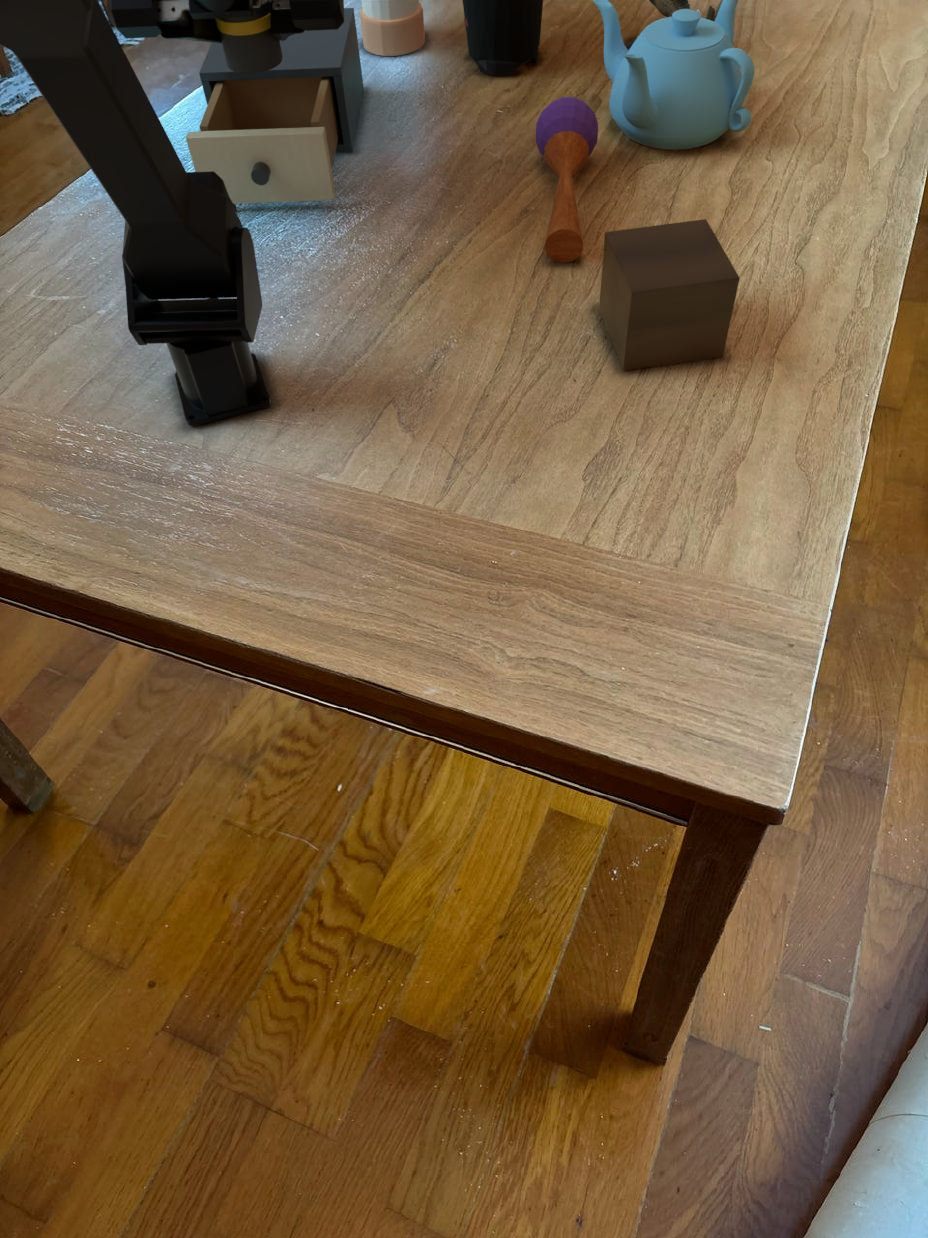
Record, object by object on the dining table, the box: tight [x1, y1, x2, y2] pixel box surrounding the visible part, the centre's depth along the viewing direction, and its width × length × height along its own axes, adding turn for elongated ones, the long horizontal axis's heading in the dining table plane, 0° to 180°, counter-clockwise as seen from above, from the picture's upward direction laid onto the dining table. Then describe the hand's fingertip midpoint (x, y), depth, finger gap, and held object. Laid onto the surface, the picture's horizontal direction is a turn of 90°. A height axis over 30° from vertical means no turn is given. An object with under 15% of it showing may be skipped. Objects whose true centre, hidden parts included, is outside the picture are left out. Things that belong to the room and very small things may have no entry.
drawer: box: [185, 76, 340, 205], centre depth 89 cm, size 14×12×6 cm
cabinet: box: [198, 7, 365, 154], centre depth 96 cm, size 14×14×8 cm
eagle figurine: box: [626, 0, 723, 50], centre depth 103 cm, size 8×7×9 cm
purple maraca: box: [535, 96, 599, 264], centre depth 86 cm, size 6×6×20 cm
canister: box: [215, 0, 283, 74], centre depth 82 cm, size 5×5×5 cm
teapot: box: [592, 0, 755, 151], centre depth 91 cm, size 15×15×10 cm
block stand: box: [598, 218, 741, 372], centre depth 73 cm, size 8×8×7 cm
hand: (253, 35), depth 83 cm, fingers closed on canister, 5 cm apart
